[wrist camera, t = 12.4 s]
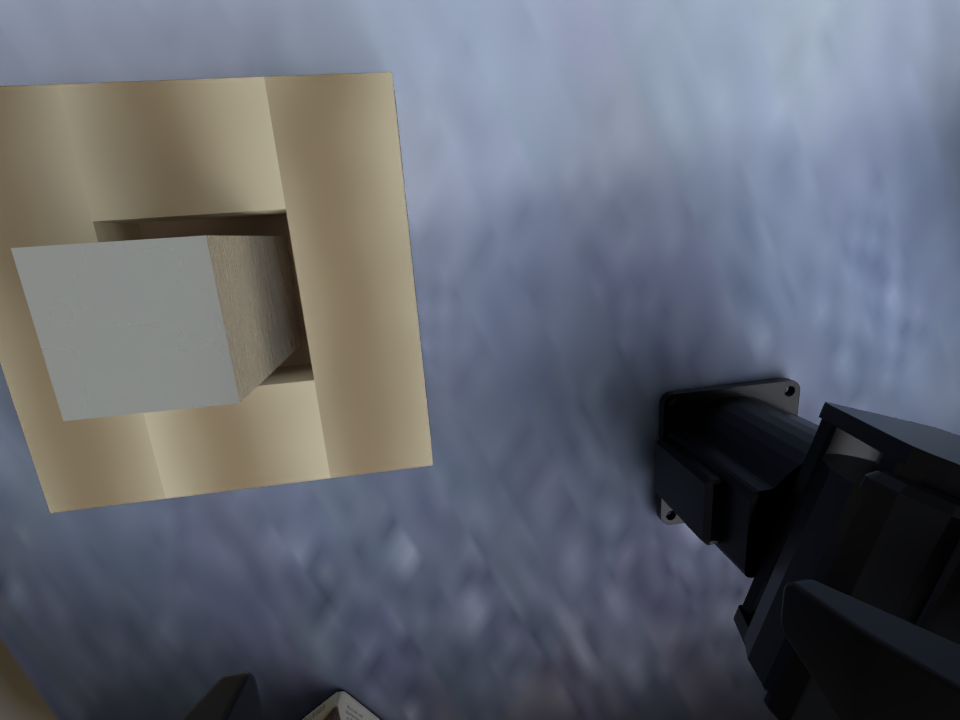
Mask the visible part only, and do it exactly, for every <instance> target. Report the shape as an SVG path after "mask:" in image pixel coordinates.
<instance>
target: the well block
mask: <svg viewBox="0 0 960 720" xmlns="http://www.w3.org/2000/svg"><path fill="white" fill-rule="evenodd" d="M204 235H215V236H285V237H286V243H287V249H288V255H289V261H290V267H291V273H292V280H293V286H294V292H295V298H296V304H297V310H298V316H299V323H300V329H301V335H302V341H303V344H302V345H300V346H299V347H298V348H297V349H296V350H295V351H294V352H293V353H292V354H291V355H290V356H289V357H288V358H287V359H286V360H285V361H284V362H283V363H282V364H280V365H279V366H278V367H277V368H276V369H275V370H274V371H273V372H272V373H271V374H270V375H269V376H268V377H267V378H266V379H265V380H264V381H263V382H262V383H261V384H259V385H258V386H257V387H256V388H255V389H254V390H253V391H252V392H251V393H250V394H249V395H248V396H247V397H246V398H245V399H244V400H243V401H242V402H241V403H237V404H227V405H217V406H207V407H197V408H188V409H178V410H168V411H158V412H148V413H138V414H129V415H119V416H109V417H99V418H89V419H79V420H70V421H63V418H62V415H61V412H60V408H59V405H58V402H57V399H56V395H55V392H54V389H53V385H52V382H51V379H50V376H49V372H48V369H47V366H46V362H45V359H44V356H43V353H42V349H41V346H40V343H39V339H38V336H37V333H36V330H35V326H34V323H33V320H32V316H31V313H30V310H29V307H28V303H27V300H26V297H25V294H24V290H23V287H22V284H21V280H20V277H19V274H18V271H17V267H16V264H15V261H14V257H13V254H12V251H11V248H19V247H35V246H50V245H65V244H81V243H96V242H112V241H127V240H143V239H158V238H174V237H189V236H204ZM0 364H1V367H2V370H3V373H4V376H5V379H6V382H7V385H8V388H9V391H10V394H11V397H12V400H13V403H14V406H15V409H16V412H17V415H18V418H19V421H20V424H21V427H22V430H23V433H24V436H25V439H26V442H27V445H28V448H29V451H30V454H31V457H32V459H33V462H34V465H35V468H36V471H37V474H38V477H39V480H40V483H41V486H42V489H43V492H44V495H45V498H46V501H47V504H48V507H49V510H50V513H55V512H63V511H71V510H79V509H87V508H95V507H103V506H111V505H119V504H127V503H135V502H143V501H151V500H159V499H167V498H175V497H183V496H191V495H199V494H207V493H215V492H223V491H231V490H239V489H247V488H255V487H263V486H271V485H279V484H287V483H295V482H303V481H311V480H319V479H327V478H335V477H343V476H351V475H359V474H367V473H375V472H383V471H391V470H399V469H407V468H415V467H423V466H431V465H433V460H432V448H431V436H430V426H429V416H428V406H427V397H426V387H425V378H424V368H423V359H422V349H421V339H420V330H419V320H418V311H417V301H416V292H415V282H414V272H413V263H412V253H411V244H410V234H409V225H408V215H407V205H406V196H405V186H404V177H403V167H402V158H401V148H400V138H399V129H398V119H397V110H396V100H395V93H394V85H393V78H392V72H382V73H354V74H326V75H299V76H271V77H243V78H216V79H188V80H160V81H132V82H105V83H77V84H49V85H22V86H0Z"/></svg>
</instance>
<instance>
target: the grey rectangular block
mask: <svg viewBox="0 0 960 720" xmlns="http://www.w3.org/2000/svg"><path fill="white" fill-rule="evenodd" d="M11 251H12V254H13V257H14V261H15V264H16V267H17V271H18V274H19V277H20V280H21V284H22V287H23V290H24V294H25V297H26V300H27V303H28V307H29V310H30V313H31V316H32V320H33V323H34V326H35V330H36V333H37V336H38V339H39V343H40V346H41V349H42V353H43V356H44V359H45V362H46V366H47V369H48V372H49V376H50V379H51V382H52V385H53V389H54V392H55V395H56V399H57V402H58V405H59V408H60V412H61V415H62V418H63V421H70V420H79V419H89V418H99V417H109V416H119V415H129V414H138V413H148V412H158V411H168V410H178V409H188V408H197V407H207V406H217V405H227V404H237V403H241V402H242V401H243V400H244V399H245V398H246V397H247V396H248V395H249V394H250V393H251V392H252V391H253V390H254V389H255V388H256V387H257V386H258V385H259V384H261V383H262V382H263V381H264V380H265V379H266V378H267V377H268V376H269V375H270V374H271V373H272V372H273V371H274V370H275V369H276V368H277V367H278V366H279V365H280V364H282V363H283V362H284V361H285V360H286V359H287V358H288V357H289V356H290V355H291V354H292V353H293V352H294V351H295V350H296V349H297V348H298V347H299V346H300V345H302V344H303V341H302V335H301V329H300V323H299V316H298V310H297V304H296V298H295V292H294V286H293V280H292V273H291V267H290V261H289V255H288V249H287V243H286V237H285V236H215V235H204V236H189V237H174V238H158V239H143V240H127V241H112V242H96V243H81V244H65V245H50V246H35V247H19V248H11Z"/></svg>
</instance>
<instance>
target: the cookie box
mask: <svg viewBox="0 0 960 720" xmlns="http://www.w3.org/2000/svg"><path fill="white" fill-rule="evenodd" d="M302 720H380V719H379V718H378V717H376V716H375V715H374V714H373V713H371V712H370V711H369V710H368V709H366V708H365V707H364V706H363V705H361V704H360V703H359V702H358V701H356V700H355V699H354V698H353V697H351V696H350V695H349V694H347V693H346V692H344V691H340V692H336V693H335V694H334V695H332V696H331V697H330V698H328V699H327V700H326V701H325V702H323V703H322V704H321V705H320V706H318V707H317V708H316V709H315V710H313V711H312V712H311V713H310V714H308V715H307V716H306V717H304V718H303V719H302Z"/></svg>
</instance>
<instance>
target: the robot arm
mask: <svg viewBox="0 0 960 720" xmlns="http://www.w3.org/2000/svg"><path fill="white" fill-rule="evenodd" d="M787 387H789V388H788V391H787V392H786V393H785V389H786V388H787ZM799 396H800V386H799V384H798V383H797V382H795V381H793V380H790V379H787V378H783V379H774V380H765V381H756V382H748V383H739V384H730V385H721V386H713V387H704V388H695V389H686V390H678V391H670V392H667V393H665V394H664V395H663V396H662V398H661V399H660V408H659V438H658V439H657V441H656V443H655V476H654V490H655V492H656V493H657V515H658V517H659V518H660V519H661V520H662V522H663V523H665V524H667V525H672V524H679V523H685V524H686V525H687V526H688V527H689V528H690V529H691V530H692V531H693V532H694V533H695V534H696V535H697V536H698V537H699V538H700V540H702V541H703V542H704V543H705V544H707V545H711V544H715V545H716V546H717V547H718V548H719V549H720V550H721V551H722V552H723V553H724V554H725V555H726V556H727V557H728V558H729V559H730V560H731V561H732V562H733V563H734V564H735V565H736V566H737V567H738V568H739V569H740V570H741V571H742V572H743V573H744V574H745V575H746V576H747V577H749V578H753V577H754V580H753V582H752V584H751V587H750V589H749V591H748V594H747V596H746V598H745V601H744V603H743V605H739V606H738V609H737V611H736V613H735V616H734V621H735V623H736V626H737V628H738V630H739V633H740V635H741V637H742V639H743V642H744V644H745V647H746V652H747V658H748V660H749V662H750V663H751V665H752V667H753V669H754V670H755V672H756V674H757V676H758V677H759V679H760V681H761V683H762V685H763V687H764V690H765V693H764V696H763V699H764V702H765V704H766V705H767V707H768V709H769V711H770V712H771V713H772V715H773V716H774V717H775V718H776V719H777V720H960V436H959V435H956V434H953V433H950V432H947V431H944V430H941V429H938V428H934V427H931V426H927V425H923V424H918V423H914V422H910V421H905V420H901V419H897V418H893V417H888V416H884V415H880V414H875V413H871V412H867V411H863V410H858V409H854V408H850V407H845V406H841V405H837V404H833V403H828V402H825V403H824V406H823V408H822V411H821V413H820V415H819V417H820V418H822V420H821V422H820V425H819V426H818V425H816V424H814V423H812V422H810V421H807V420H805V419H803V418H801V417H799V416H797V415H798V405H799ZM674 399H675V400H676V402H675V405H674V406H672V407H670V406H669V405H670V402H671V401H672V400H674ZM671 510H672V512H671V513H670V514H669V515H667V516H666V514H667V513H668V512H669V511H671ZM182 720H263V710H262V706H261V701H260V697H259V693H258V689H257V685H256V680H255V677H254V675H253V674H252V673H251V672H248V671H247V672H241V673H235V674H229V675H225V676H224V677H222V678H221V679H220V680H219V681H218V682H217V683H216V684H215V685H214V686H213V687H212V688H211V689H210V690H209V691H208V692H207V693H206V694H205V695H204V697H203V698H202V699H201V700H200V701H199V702H198V703H197V704H196V705H195V706H194V707H193V708H192V709H191V710H190V711H189V713H188V714H187V715H186V716H185V717H184V718H183V719H182Z"/></svg>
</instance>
